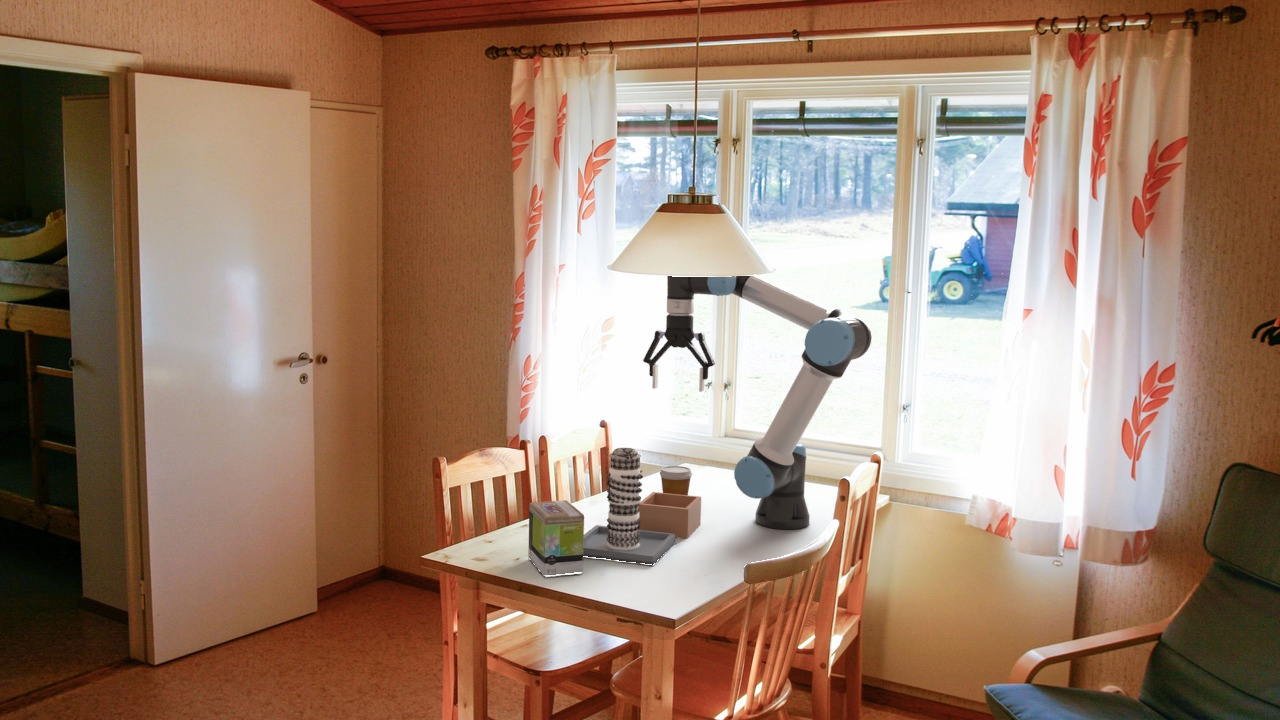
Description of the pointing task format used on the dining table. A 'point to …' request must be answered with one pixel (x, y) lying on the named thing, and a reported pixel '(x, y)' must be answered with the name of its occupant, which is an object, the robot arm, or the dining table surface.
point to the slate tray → (647, 552)
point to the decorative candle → (624, 499)
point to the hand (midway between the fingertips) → (678, 389)
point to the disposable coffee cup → (675, 479)
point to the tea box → (556, 537)
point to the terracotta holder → (670, 514)
